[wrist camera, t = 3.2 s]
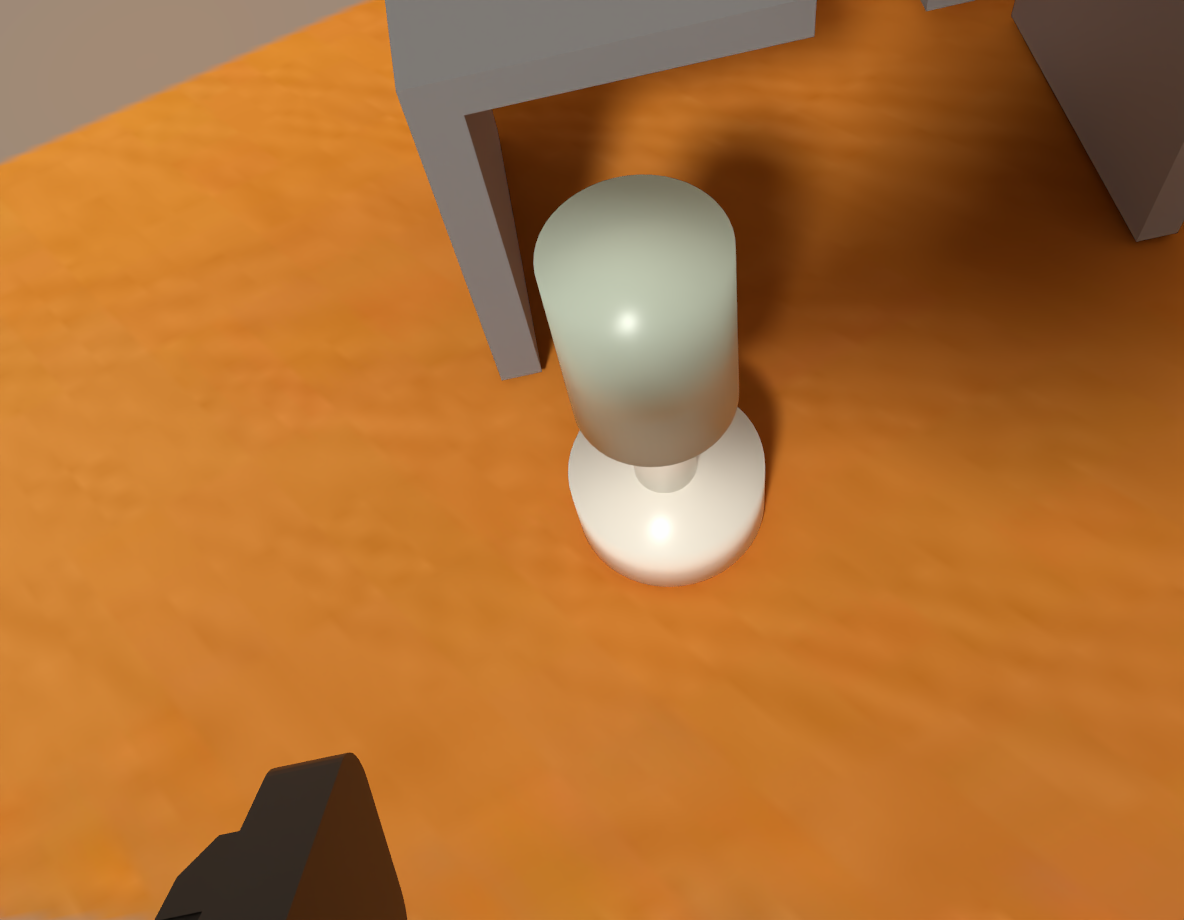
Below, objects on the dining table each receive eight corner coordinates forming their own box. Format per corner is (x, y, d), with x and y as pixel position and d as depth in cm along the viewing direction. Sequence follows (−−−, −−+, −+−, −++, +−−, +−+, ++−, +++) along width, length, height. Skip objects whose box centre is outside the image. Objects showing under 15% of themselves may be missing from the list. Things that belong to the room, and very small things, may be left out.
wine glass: (596, 604, 28) (522, 389, 19) (565, 442, 31) (486, 183, 22) (785, 563, 28) (800, 326, 19) (739, 404, 31) (732, 127, 22)
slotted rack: (502, 380, 32) (396, 91, 22) (463, 138, 37) (363, -183, 27) (1177, 232, 31) (1365, -128, 22) (1046, 7, 36) (1153, -367, 27)
